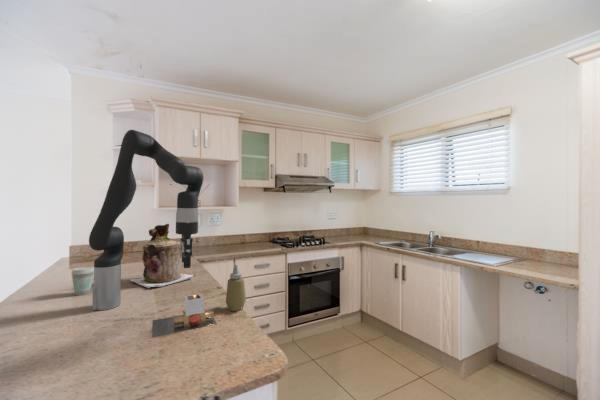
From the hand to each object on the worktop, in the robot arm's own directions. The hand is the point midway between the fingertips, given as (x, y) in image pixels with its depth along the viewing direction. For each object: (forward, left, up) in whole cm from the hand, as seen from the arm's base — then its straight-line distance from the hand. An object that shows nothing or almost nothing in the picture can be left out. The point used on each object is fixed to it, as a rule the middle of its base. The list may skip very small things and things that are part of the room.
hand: (185, 265), depth 99 cm
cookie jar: (-7, +64, -21) cm, 68 cm away
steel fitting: (+2, -4, -16) cm, 17 cm away
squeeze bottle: (+19, +4, -21) cm, 29 cm away
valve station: (-1, -2, -21) cm, 21 cm away
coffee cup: (-41, +57, -21) cm, 73 cm away
